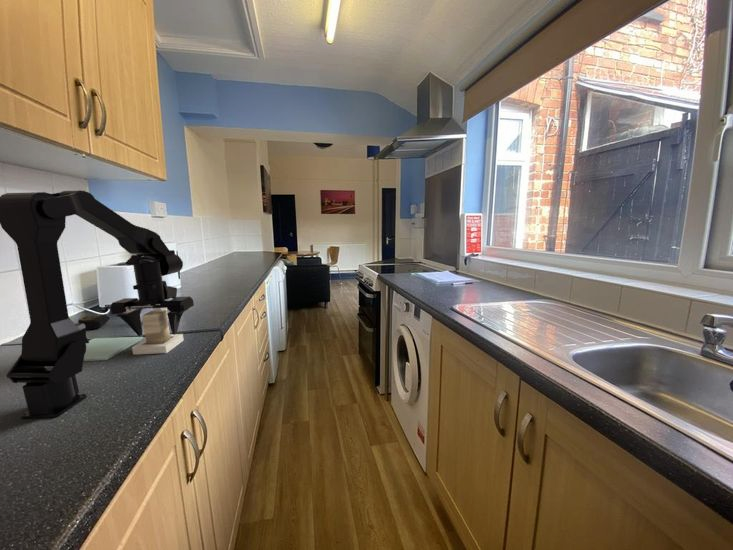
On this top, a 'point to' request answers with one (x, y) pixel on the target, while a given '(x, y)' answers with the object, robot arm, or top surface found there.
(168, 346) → the beige square frame
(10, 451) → the top surface
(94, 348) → the pad
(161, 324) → the peg
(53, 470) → the top surface
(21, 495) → the top surface
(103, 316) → the tape measure
